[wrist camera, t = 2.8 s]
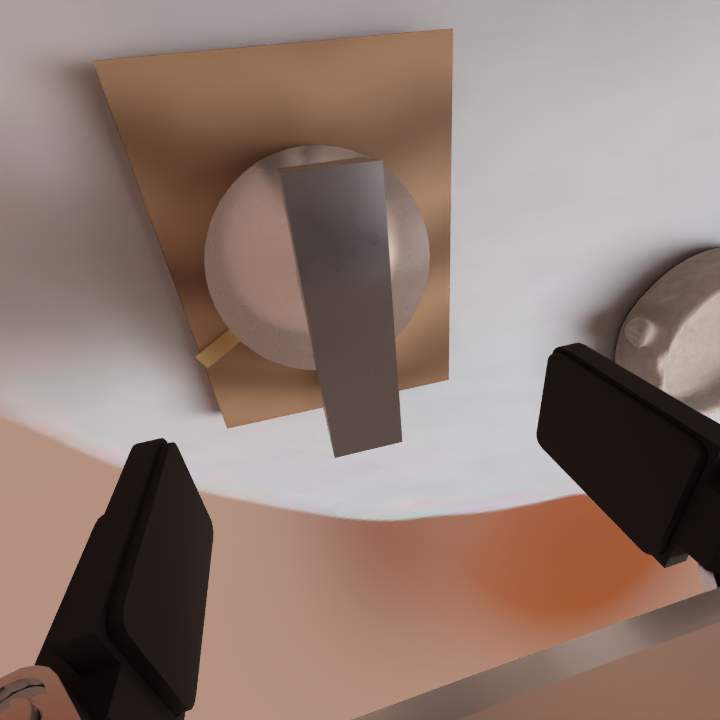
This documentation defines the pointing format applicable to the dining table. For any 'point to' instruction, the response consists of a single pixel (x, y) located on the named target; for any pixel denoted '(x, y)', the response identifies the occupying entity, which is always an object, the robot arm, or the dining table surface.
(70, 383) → the dining table surface
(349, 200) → the door handle
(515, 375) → the dining table surface
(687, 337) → the dish
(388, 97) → the dial stand
